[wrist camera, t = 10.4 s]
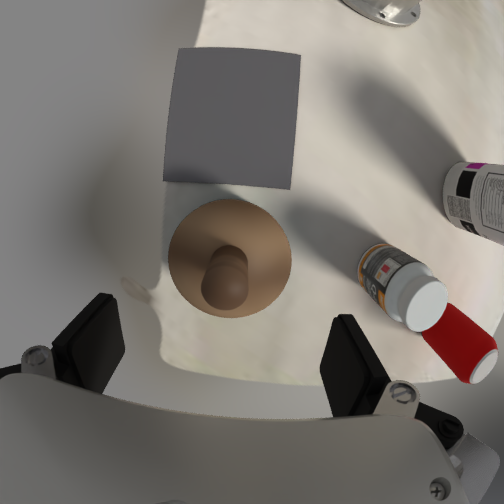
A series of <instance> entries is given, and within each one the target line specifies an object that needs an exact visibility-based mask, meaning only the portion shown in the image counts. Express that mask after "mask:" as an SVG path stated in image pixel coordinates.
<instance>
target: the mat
mask: <svg viewBox="0 0 504 504" xmlns="http://www.w3.org/2000/svg"><path fill="white" fill-rule="evenodd" d="M300 61H301V55H298V54H291V53H284V52H277V51H268V50H257V49H244V48H181V49H179V51H178V56H177V62H176V67H175V73H174V79H173V86H172V93H171V101H170V108H169V116H168V125H167V135H166V145H165V157H164V172H163V173H164V174H163V181H172V182H198V183H216V184H231V185H245V186H257V187H268V188H278V189H287V190H290V186H291V176H292V166H293V155H294V144H295V132H296V120H297V107H298V93H299V78H300Z"/></svg>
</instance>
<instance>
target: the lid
mask: <svg viewBox="0 0 504 504" xmlns="http://www.w3.org/2000/svg"><path fill="white" fill-rule="evenodd" d="M291 261H292V258H291V250H290V245H289V242H288V240H287V237H286V235H285V233H284V231H283V229H282V228H281V226H280V225H279V224H278V222H277V221H276V220H275V219H274V218H273V217H272V216H271V215H270V214H269V213H268V212H266V211H265V210H264V209H262V208H260V207H259V206H257V205H254V204H252V203H250V202H246V201H242V200H235V199H223V200H217V201H213V202H209V203H207V204H205V205H202V206H200V207H199V208H197V209H196V210H194V211H193V212H192V213H190V214H189V215H188V216H187V217H186V218H185V219H184V220H183V221H182V222H181V223H180V224H179V226H178V227H177V229H176V231H175V233H174V235H173V237H172V239H171V242H170V247H169V253H168V263H169V270H170V274H171V277H172V279H173V282H174V284H175V286H176V288H177V289H178V291H179V292H180V293H181V295H182V296H183V297H184V298H185V299H186V300H187V301H188V302H189V303H190V304H192V305H193V306H194V307H196V308H197V309H199V310H201V311H203V312H205V313H208V314H210V315H214V316H218V317H224V318H238V317H244V316H249V315H252V314H254V313H257V312H259V311H261V310H263V309H264V308H266V307H267V306H269V305H270V304H271V303H272V302H273V301H275V299H276V298H277V297H278V296H279V295H280V294H281V292H282V291H283V289H284V287H285V285H286V283H287V281H288V278H289V275H290V271H291Z"/></svg>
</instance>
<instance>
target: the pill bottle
mask: <svg viewBox="0 0 504 504" xmlns="http://www.w3.org/2000/svg"><path fill="white" fill-rule="evenodd" d="M357 275H358V280H359V283H360V284H361V286H362V287H363V288H364V290H365V291H366V292H367V293H368V294H369V295H370V296H371V297H372V298H373V299H374V300H375V301H376V302H377V304H378V305H379V306H380V307H381V308H382V309H383V310H384V311H385V312H386V313H387V314H388V315H389V317H391V318H392V319H394V320H396V321H399V322H403V323H404V324H405V325H406V326H407V327H408V328H409V329H410V330H412V331H416V332H420V331H424V330H427V329H428V328H430V327H431V326H433V325H434V324H435V323H436V322H437V321H438V320H439V319H440V317H441V316H442V314H443V312H444V310H445V308H446V305H447V301H448V292H447V289H446V286H445V285H444V284H443V283H442V282H441V281H439V280H438V279H437V278H435V277H434V276H433V273H432V271H431V270H430V269H429V268H428V267H427V266H426V265H425V264H424V263H422V262H420V261H418V260H417V259H415V258H413V257H411V256H410V255H408V254H406V253H405V252H403V251H401V250H399V249H398V248H396V247H394V246H392V245H389V244H377V245H374V246H372V247H371V248H369V249H368V250H367V251H366V252H365V253H364V254H363V256H362V258H361V260H360V262H359V264H358V270H357Z"/></svg>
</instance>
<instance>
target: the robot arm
mask: <svg viewBox="0 0 504 504" xmlns="http://www.w3.org/2000/svg"><path fill="white" fill-rule="evenodd" d="M342 1H344V2H345V3H346V4H347V5H348V6H350V7H351V8H352V9H354V10H355V11H357V12H359V13H360V14H362V15H363V16H366V17H368V18H369V19H371V20H374V21H376V22H379V23H381V24H385V25H388V26H394V27H406V26H409V25H411V24H413V23H414V22H416V21H417V20H418V18H419V16H420V5H419V2H420V1H421V0H342ZM52 345H53V347H52V349H51V350H50V349H49V348H48V347H46V346H41V345H38V346H33V347H30V348H29V349H27V350H26V351H25V352H24V353H23V355H22V358H21V364H17V365H13V366H9V367H5V368H0V504H479V502H480V501H481V499H482V497H483V496H484V494H485V492H486V491H487V489H488V487H489V485H490V483H491V481H492V479H493V478H494V476H495V474H496V471H497V470H498V468H499V464H500V459H499V456H498V454H497V453H496V452H495V451H493V450H492V449H490V448H489V447H488V446H486V445H485V444H484V443H482V442H481V441H479V440H478V439H476V438H475V437H473V436H472V435H471V434H469V433H467V434H466V435H465V434H463V431H464V429H463V425H462V423H461V422H460V421H459V420H458V419H457V418H456V417H454V416H452V415H450V414H447V413H445V412H442V411H440V410H437V409H435V408H433V407H430V406H428V405H426V404H423V403H421V402H419V400H420V394H419V391H418V389H417V388H416V387H415V386H414V385H413V384H411V383H409V382H407V381H403V380H395V381H391V380H390V378H389V376H388V374H387V372H386V371H385V369H384V367H383V365H382V364H381V362H380V360H379V358H378V357H377V355H376V353H375V351H374V350H373V348H372V346H371V345H370V343H369V341H368V340H367V338H366V336H365V335H364V333H363V331H362V330H361V328H360V326H359V325H358V323H357V321H356V320H355V318H354V316H353V315H352V314H339V315H338V316H337V317H335V318H334V319H333V322H332V326H331V330H330V333H329V337H328V340H327V344H326V347H325V351H324V354H323V357H322V361H321V364H320V374H321V377H322V380H323V384H324V387H325V391H326V394H327V397H328V400H329V404H330V407H331V411H332V414H333V417H331V418H313V419H312V418H310V419H252V418H236V417H223V416H213V415H204V414H195V413H188V412H181V411H175V410H169V409H163V408H158V407H153V406H148V405H144V404H139V403H134V402H130V401H126V400H121V399H117V398H114V397H111V396H107V395H104V394H102V393H103V391H104V389H105V387H106V386H107V384H108V382H109V380H110V378H111V376H112V375H113V373H114V371H115V369H116V367H117V366H118V364H119V362H120V360H121V359H122V357H123V355H124V353H125V345H124V340H123V335H122V330H121V324H120V319H119V312H118V306H117V300H116V299H115V298H113V295H112V294H106V293H99V294H98V295H97V296H96V297H95V298H94V299H93V300H92V301H91V302H90V303H89V304H88V305H87V306H86V307H85V308H84V309H83V310H82V311H81V312H80V313H79V314H78V315H77V316H76V317H75V318H74V319H73V320H72V321H71V322H70V323H69V325H68V326H67V327H66V328H65V329H64V330H63V331H62V332H61V333H60V334H59V335H58V336H57V338H56V339H55V340H54V341H53V342H52Z"/></svg>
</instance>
